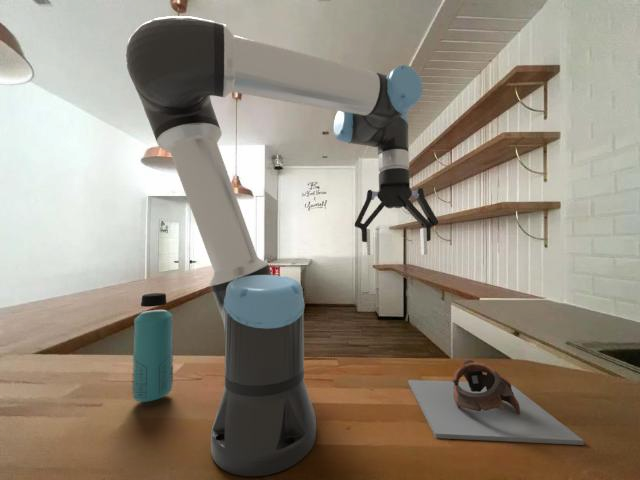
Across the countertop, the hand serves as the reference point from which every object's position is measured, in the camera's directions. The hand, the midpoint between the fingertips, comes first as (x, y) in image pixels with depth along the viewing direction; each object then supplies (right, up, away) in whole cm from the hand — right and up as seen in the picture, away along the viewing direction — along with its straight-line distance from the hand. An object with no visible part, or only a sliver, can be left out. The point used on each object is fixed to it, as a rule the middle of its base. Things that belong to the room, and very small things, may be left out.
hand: (396, 255), depth 67 cm
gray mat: (+9, -26, -20) cm, 34 cm away
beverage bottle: (-50, -27, -17) cm, 59 cm away
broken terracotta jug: (+9, -25, -21) cm, 34 cm away
